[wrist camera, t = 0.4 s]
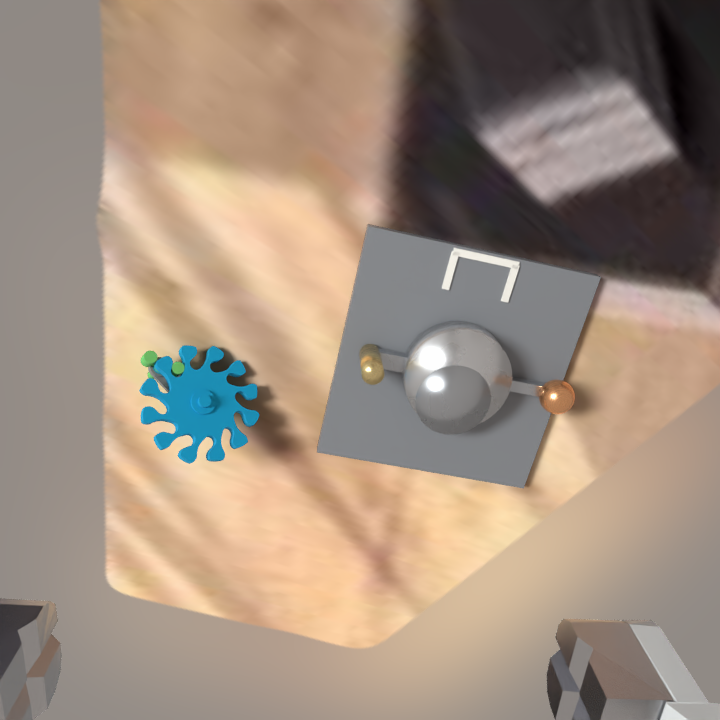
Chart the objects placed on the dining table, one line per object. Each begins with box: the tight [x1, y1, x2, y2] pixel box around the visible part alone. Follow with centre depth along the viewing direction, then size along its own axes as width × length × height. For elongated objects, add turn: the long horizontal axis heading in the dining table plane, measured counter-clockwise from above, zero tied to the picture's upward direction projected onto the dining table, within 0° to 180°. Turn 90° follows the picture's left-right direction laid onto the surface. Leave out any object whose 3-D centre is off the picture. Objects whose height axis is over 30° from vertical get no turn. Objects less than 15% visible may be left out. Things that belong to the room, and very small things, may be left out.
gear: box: [140, 346, 259, 463], centre depth 55 cm, size 11×6×10 cm
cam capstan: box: [359, 321, 575, 435], centre depth 54 cm, size 10×19×5 cm, turn 77°
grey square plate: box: [317, 224, 601, 488], centre depth 56 cm, size 21×20×1 cm
